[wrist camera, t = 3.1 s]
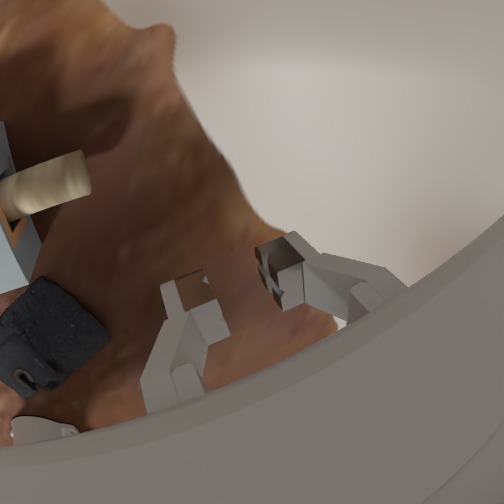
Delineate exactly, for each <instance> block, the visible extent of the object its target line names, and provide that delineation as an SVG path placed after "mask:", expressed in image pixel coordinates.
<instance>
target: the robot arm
mask: <svg viewBox="0 0 504 504" xmlns="http://www.w3.org/2000/svg"><path fill="white" fill-rule="evenodd" d="M255 256H256V258H257V260H258V261H259V262H260V263H259V265H258V270H259V274H260V277H261V279H262V282H263V284H264V285H265V287H266V289H267V290H268V291H269V292H272V293H273V297H274V300H275V301H276V303H277V304H278V306H279V307H280V308H281V310H282V311H283V312H284V311H286V310H288V309H291V308H293V307H295V306H297V305H299V304H302V303H304V302H305V303H306V304H308V305H311V306H313V307H315V308H317V309H320V310H322V311H324V312H327V313H329V314H331V315H334V316H336V317H338V318H341V319H343V320H345V321H347V324H346V327H344V328H342V329H340V330H339V331H337V332H335V333H333V334H331V335H330V336H328V337H326V338H324V339H322V340H320V341H318V342H317V343H315V344H313V345H311V346H309V347H307V348H305V349H303V350H301V351H299V352H297V353H295V354H293V355H291V356H289V357H287V358H285V359H283V360H281V361H279V362H277V363H275V364H273V365H271V366H268V367H266V368H264V369H262V370H260V371H258V372H255V373H253V374H251V375H249V376H246V377H244V378H242V379H240V380H237V381H235V382H233V383H230V384H228V385H225V386H223V387H221V388H218V389H216V390H213V391H211V390H210V388H209V387H208V385H207V384H206V382H205V381H204V380H203V378H202V376H203V371H204V366H205V361H206V356H207V351H208V345H211V344H213V343H215V342H217V341H219V340H222V339H224V338H226V337H228V336H230V332H229V329H228V327H227V324H226V322H225V320H224V318H223V315H222V311H221V309H220V306H219V303H218V301H217V298H216V296H215V294H214V292H213V290H212V288H211V285H210V284H209V283H208V280H207V278H206V275H205V273H204V271H203V269H200V270H197V271H194V272H192V273H189V274H187V275H184V276H181V277H179V278H176V279H175V280H171V281H169V282H166V283H164V284H161V285H160V289H161V293H162V297H163V301H164V305H165V308H166V312H167V316H168V319H167V320H165V321H164V323H163V325H162V327H161V330H160V332H159V334H158V337H157V339H156V342H155V344H154V346H153V349H152V351H151V354H150V356H149V359H148V361H147V363H146V366H145V368H144V371H143V373H142V376H141V378H140V383H141V387H142V392H143V397H144V401H145V405H146V410H147V415H144V416H141V417H138V418H134V419H131V420H128V421H124V422H121V423H117V424H114V425H110V426H107V427H103V428H99V429H95V430H91V431H87V432H83V433H80V432H79V431H78V430H77V429H76V428H75V426H73V425H69V424H62V423H57V422H54V421H51V420H48V419H44V418H39V417H32V416H21V417H16V418H14V419H13V420H12V421H11V426H12V429H11V431H10V432H11V436H12V437H13V442H14V445H13V446H5V447H0V504H504V215H503V216H502V217H501V218H499V219H498V220H497V221H496V222H495V223H494V224H493V225H491V226H490V227H489V228H488V229H487V230H485V231H484V232H483V233H482V234H481V235H479V236H478V237H477V238H476V239H475V240H473V241H472V242H471V243H470V244H468V245H467V246H466V247H464V248H463V249H462V250H460V251H459V252H458V253H456V254H455V255H454V256H453V257H451V258H450V259H449V260H447V261H446V262H444V263H443V264H442V265H440V266H439V267H438V268H436V269H435V270H433V271H432V272H431V273H429V274H428V275H426V276H425V277H424V278H422V279H420V280H419V281H418V282H416V283H415V284H413V285H412V286H410V287H409V288H408V287H407V286H406V285H405V284H404V283H402V282H401V281H400V280H399V279H398V278H397V277H396V276H395V275H393V274H392V273H391V272H390V271H389V270H388V269H386V268H385V267H380V266H377V265H373V264H368V263H365V262H360V261H356V260H352V259H348V258H344V257H339V256H336V255H331V254H327V253H322V254H319V253H318V252H317V251H316V250H315V249H314V248H313V247H312V246H311V245H310V244H309V243H308V242H307V241H305V240H304V239H303V238H302V237H301V236H300V235H299V234H298V233H297V232H296V231H292V232H290V233H287V234H285V235H283V236H281V237H279V238H277V239H274V240H272V241H269V242H267V243H264V244H262V245H259V246H257V247H255Z"/></svg>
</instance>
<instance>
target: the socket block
mask: <svg viewBox="0 0 504 504" xmlns="http://www.w3.org/2000/svg"><path fill="white" fill-rule="evenodd" d="M15 173H16V171H15V167H14V163H13V160H12V156H11V152H10V148H9V144H8V139H7V135H6V130H5V125H4V121H2V122H0V180H2V179H4V178H6V177H8V176H11V175H13V174H15ZM41 246H42V243H41V241H40V239H39V236H38V234H37V231H36V229H35V226H34V224H33V221H32V219H31V216H30V215H28V216H25V217H22V218H20V219H17V220H15V221H12V222H10V223H8V221H7V219H6V216H5V214H4V211H3V208H2V206H1V203H0V294H1V293H4V292H7V291H10V290H13V289H16V288H20V287H23V286H26V285H29V283H30V279H31V276H32V273H33V270H34V266H35V263H36V260H37V257H38V254H39V252H40V249H41Z"/></svg>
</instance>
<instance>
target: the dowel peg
mask: <svg viewBox="0 0 504 504" xmlns="http://www.w3.org/2000/svg"><path fill="white" fill-rule="evenodd" d="M90 193H91V182H90V175H89V170H88V165H87V161H86V158H85V155H84V153H83V151H82V150H77V151H74V152H71V153H68V154H65V155H62V156H59V157H57V158H54V159H51V160H48V161H46V162H43V163H40V164H38V165H35V166H32V167H30V168H27V169H25V170H22V171H20V172H18V173H15V174H13V175H11V176H8V177H6V178H4V179H2V180H0V203H1V206H2V208H3V211H4V214H5V216H6V219H7V221H8V223H10V222H12V221H15V220H17V219H20V218H22V217H25V216H28V215H30V214H33V213H36V212H38V211H41V210H44V209H47V208H50V207H52V206H55V205H58V204H61V203H64V202H67V201H70V200H73V199H76V198H80V197H83V196H86V195H89V194H90Z"/></svg>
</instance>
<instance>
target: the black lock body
mask: <svg viewBox="0 0 504 504" xmlns="http://www.w3.org/2000/svg"><path fill="white" fill-rule="evenodd" d="M110 340H111V336H110V333H109V331H108V330H107V329H106V328H105V327H104V326H103V325H101V324H100V323H99V322H98V321H97V320H96V319H95V318H94V317H93V315H91V314H90V313H89V312H87V311H86V310H85V309H82V307H81V306H80V305H79V304H78V302H77V301H76V300H75V299H74V298H73V297H71V296H70V295H68V293H66V292H65V291H63V290H62V289H61V288H60V287H59V286H58V285H57V284H54V283H53V282H52V281H48V280H44V279H43V277H42V276H41V277H39V278H38V279H37V280H36V281H35V282H33V283H32V284H31V285H30V286H29V287H28V289H27V290H26V291H25V293H24V294H21V295H20V297H18V298H17V299H16V300H15V302H14V303H12V304H11V305H10V306H9V307H8V308H7V309H6V310H5V311H4V312H3V313H2V315H1V317H0V380H1V381H2V382H3V383H5V384H6V385H7V386H9V387H10V388H11V389H13V390H15V392H17V393H18V394H19V396H20V397H22V398H23V399H28V398H29V397H31V396H32V395H34V394H35V393H36V392H37V388H35V387H36V386H37V387H40V388H42V389H44V390H47V391H50V392H52V391H53V390H55V389H57V388H58V387H59V386H60V385H61V384H62V383H63V382H64V381H65V380H66V379H67V378H68V377H69V376H70V374H71V373H72V372H73V371H75V370H78V369H79V368H80V367H82V366H83V365H84V364H85V363H86V362H87V361H88V360H90V359H91V357H92V356H93V355H94V354H95V353H97V352H98V351H100V350H101V349H102V348H104V347H105V346H106V345H107V344H108V343H109V342H110Z"/></svg>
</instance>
